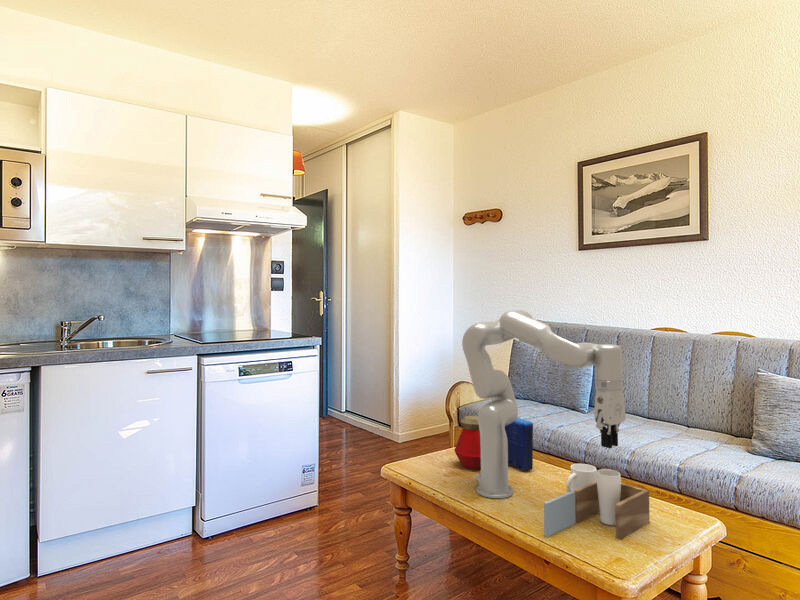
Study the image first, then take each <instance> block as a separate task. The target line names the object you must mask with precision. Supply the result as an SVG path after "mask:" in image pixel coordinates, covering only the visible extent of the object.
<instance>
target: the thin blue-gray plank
mask: <svg viewBox="0 0 800 600" xmlns="http://www.w3.org/2000/svg"><path fill="white" fill-rule="evenodd" d="M573 525H576V521H575V492H574V491H571V492H566V493H564V494H561V495H559V496H556V497H554V498H552V499H549V500H547V501H544V502H543V537H545V538H549V537H551V536H553V535H556V534H557V533H559V532H561V531H564V530H565V529H567V528H569V527H572V526H573Z"/></svg>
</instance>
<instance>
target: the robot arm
mask: <svg viewBox="0 0 800 600" xmlns="http://www.w3.org/2000/svg"><path fill="white" fill-rule="evenodd" d="M513 339H516V340H518V341H521V342H523V343H525V344H527V345H530V346H532V347H533V348H536V349H537V350H538V351H539V352H541V353H542V354H543V355H545V356H546V357H547V358H550V359H551V360H553V361H555V362H557V363H559V364H561V365H563V366H565V367H567V368H570V369H575V370H579V369H583V368H587V367H591V366H592V367H593V366H594V373H595V375H594V376H595V377H594V379H595V381H594V382H595V384H594V386H595V397H594V421H595V423H596V424H595V428H597V429H598V430H599V433H600V440H601V441H600V444H601V445H600V446H601V447H603V448H607V449H612V448H613V447H618V446H619V432H620V431H619V427H620V424H621V423H623V422H625V420H626V403H625V394H624V391H623V351H622V347H621V346H620V345H618V344H611V343H610V344H609V343H607V344H606V343H600V344H598V343H593V342H584V341H583V342H579V343H574V342H573V341H569V340H567V339H565V338H563V337H562V336H561V337H560V336H559V335H557V334H555V333H554V331H552V329H551V326H550V325H548V323H544V322H542V321H540V320H539V319H538V320H537V319H535V318H533V316H532V314H531V313H529V312H528V311H525V310H521V309H520V310H519V309H517V310H516V309H515V310H513V309H512V310H508V311H505V312H504V313H502V315H501V316H500V317H499V319H497V320H494V321H480V322H477V323H474V324H472V325H470V326H469V327H468V328H467V329H466V330H465V331H464V334H463V336H462V340H461V344H462V351H463V354H464V357H465V359H466V363H467V366H468V371H469V375H470V379H471V382H472V386H473V390H474V393H475V394H476V396H477V397H479V398H480V399H483V400H484V399H486V400H487V399H490V400H491V401H489V402H486V403H485V404H484V405H482V406H481V407H480V409H478V412H477V417H478V424H479V430H480V447H481V469H480V473H479V472H478V473H477V474H476V475H475V476H474V477H473V480H474V481H476V482H478V485H477V486H476V492H477V493H478V494H479V495H480V496H482V497H484V498H490V499H506V498H509V497H511V496H512V495H513V494H514V489H513V487H511V486H510V485H509V465H508V440H507V435H506V432H505V426H507V425H509V424H511V423H513V422H514V421H515V420H516V419H517V418H518V416H519V409H518V404H517V400H516V396H515V394H514V389H513V386H512V383H511V380H510V378H509V376H508V375H507V373H506V372H504V371H503V370H501V369H494V365H493V363H492V359H491V356H490V354H489V353H488V351H487V349H486V347H487V346H494V345H498V344H502V343H505V342H507V341H508V342H509V341H511V340H513Z"/></svg>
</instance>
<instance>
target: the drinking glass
mask: <svg viewBox="0 0 800 600" xmlns="http://www.w3.org/2000/svg"><path fill="white" fill-rule="evenodd" d="M596 471H597V491H598V500H599V510H600V512H599V520H600V522H601V523H602V524H604V525H608V526H616V517H615V504H617V503H619V502H620V496H621V483H622V477H621V472H619V471H617V470H614V469H611V468H601V469H598V470H596Z"/></svg>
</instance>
